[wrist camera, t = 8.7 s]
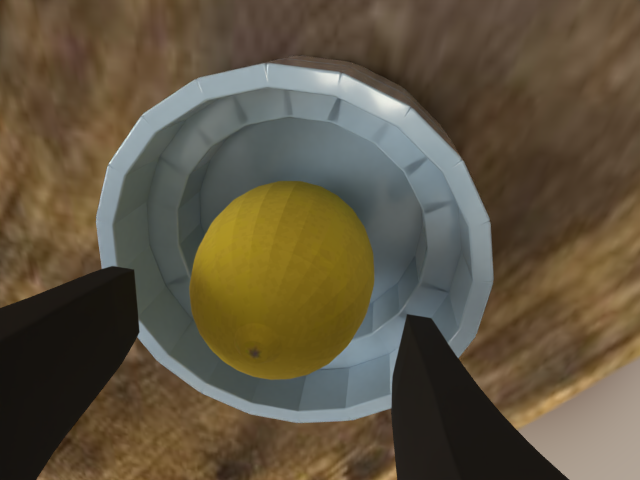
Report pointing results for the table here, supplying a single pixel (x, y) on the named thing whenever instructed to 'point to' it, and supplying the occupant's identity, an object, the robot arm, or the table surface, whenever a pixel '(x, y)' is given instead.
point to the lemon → (282, 280)
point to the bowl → (315, 168)
